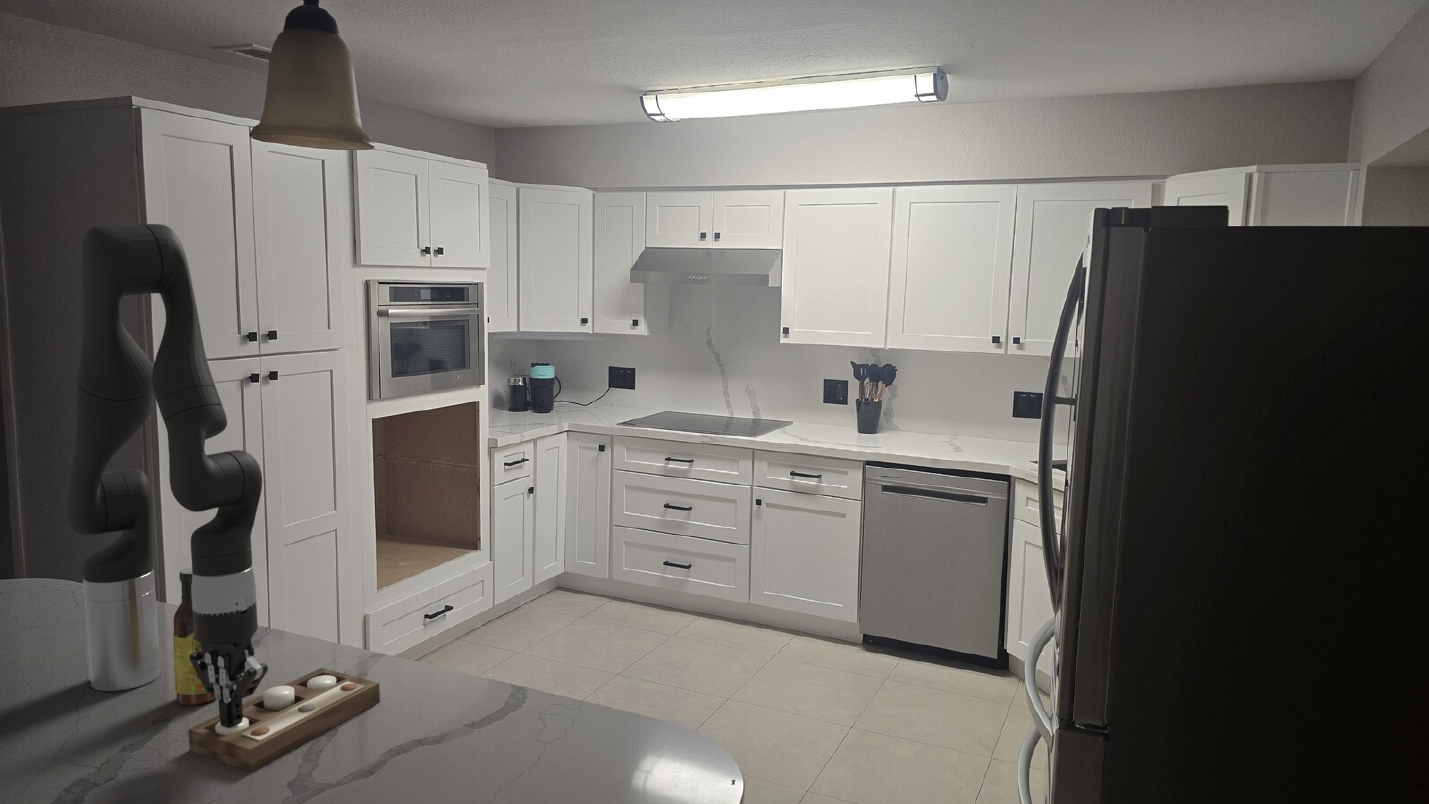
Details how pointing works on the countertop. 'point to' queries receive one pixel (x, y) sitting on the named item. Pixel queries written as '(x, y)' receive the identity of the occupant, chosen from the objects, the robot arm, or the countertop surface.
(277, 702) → the button
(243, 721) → the button
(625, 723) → the countertop surface
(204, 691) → the sauce bottle
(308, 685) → the button
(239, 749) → the button panel
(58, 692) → the countertop surface
